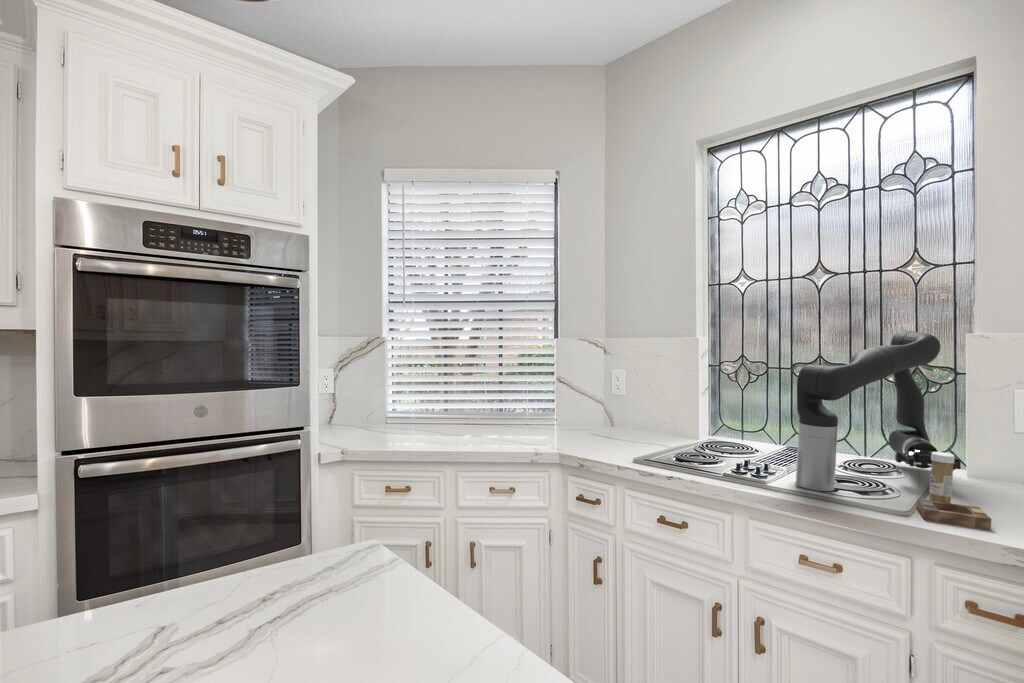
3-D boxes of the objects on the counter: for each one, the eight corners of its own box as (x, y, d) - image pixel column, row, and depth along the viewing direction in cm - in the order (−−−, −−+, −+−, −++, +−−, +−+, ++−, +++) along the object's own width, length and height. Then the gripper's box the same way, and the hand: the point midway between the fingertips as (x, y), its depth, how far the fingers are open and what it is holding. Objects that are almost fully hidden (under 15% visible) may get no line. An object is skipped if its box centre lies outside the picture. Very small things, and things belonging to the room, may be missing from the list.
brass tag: (973, 513, 126) (973, 511, 126) (969, 509, 129) (969, 507, 129) (985, 514, 125) (985, 513, 125) (980, 510, 128) (980, 509, 128)
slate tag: (924, 505, 130) (924, 504, 130) (921, 502, 133) (921, 500, 133) (934, 507, 129) (934, 506, 129) (931, 503, 132) (931, 502, 132)
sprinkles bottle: (923, 504, 139) (926, 451, 139) (940, 504, 140) (943, 451, 139) (939, 510, 135) (942, 455, 134) (956, 510, 135) (959, 455, 135)
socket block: (923, 519, 128) (924, 509, 128) (916, 508, 136) (916, 498, 136) (990, 530, 122) (991, 518, 122) (978, 517, 130) (979, 507, 130)
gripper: (890, 436, 165) (900, 447, 150) (950, 442, 158) (966, 454, 144) (889, 461, 165) (898, 475, 150) (949, 468, 159) (965, 483, 144)
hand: (932, 464), depth 147 cm, fingers open, 8 cm apart
